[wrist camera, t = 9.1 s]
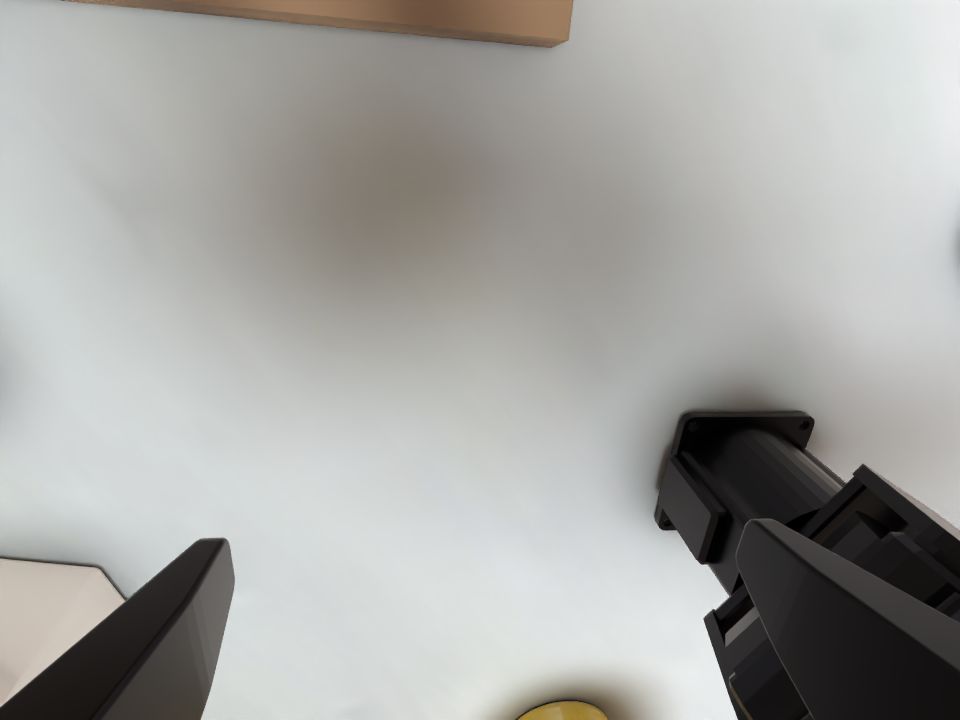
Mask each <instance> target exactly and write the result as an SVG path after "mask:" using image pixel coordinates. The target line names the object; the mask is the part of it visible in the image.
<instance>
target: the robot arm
mask: <svg viewBox="0 0 960 720" xmlns="http://www.w3.org/2000/svg"><path fill="white" fill-rule="evenodd" d="M692 422H695V423H694V424H693V425H692V426H690V427H689V425H690V424H691V423H692ZM802 422H803V423H802ZM801 423H802V424H801ZM814 423H815V422H814V419H813V418H812V417H810V416H809V415H808V414H806V413H804V412H692V413H688V414H686V415H684V416H683V417H682V418H681V420H680V422H679V426H678V430H677V434H676V438H675V441H674V445H673V449H672V453H671V456H670V458H669V459H668V462H667V466H666V469H665V473H664V477H663V481H662V485H661V489H660V493H659V497H658V502H659V504H658V508H657V512H656V516H655V521H656V523H657V525H658V526H659V528H660V529H662V530H666V531H667V530H677V531H678V532H679V534H680V536H681V537H682V539H683V540H684V542H685V543H686V545H687V546H688V548H689V549H690V551H691V552H692V554H693V555H694V557H695V559H696V560H697V561H698V562H699V563H700V564H701V565H704V564H708V565H709V567H710V568H711V570H712V571H713V573H714V574H715V576H716V577H717V579H718V580H719V582H720V583H721V585H722V586H723V588H724V589H725V591H726V592H727V594H728V595H729V596H730V597H729V598H728V599H727V600H726V601H725V602H724V603H723V604H721V605H720V606H719V607H718V608H717V609H716V610H714V609H713V610H712V611H711V612H709V613H708V614H707V615H706V616H705V617H704V622H705V625H706V628H707V631H708V634H709V637H710V640H711V643H712V646H713V649H714V652H715V655H716V658H717V661H718V664H719V667H720V670H721V673H722V676H723V679H724V682H725V685H726V688H727V691H728V694H729V697H730V700H731V703H732V705H733V707H734V710H735V713H736V716H737V718H738V720H960V530H958V529H957V528H956V527H954V526H953V525H952V524H950V523H949V522H948V521H946V520H945V519H943V518H942V517H941V516H939V515H938V514H937V513H935V512H934V511H933V510H931V509H930V508H928V507H927V506H925V505H924V504H922V503H921V502H919V501H918V500H916V499H915V498H913V497H912V496H910V495H909V494H907V493H906V492H904V491H903V490H901V489H900V488H898V487H897V486H896V485H894V484H893V483H891V482H890V481H888V480H887V479H885V478H884V477H882V476H881V475H879V474H878V473H876V472H875V471H873V470H872V469H870V468H869V467H867V466H866V465H864V464H862V465H861V466H860V467H859V468H858V469H857V470H856V471H855V472H854V473H853V475H854V477H853V478H852V479H851V480H850V481H849V482H848V483H845V482H844V481H843V480H842V479H841V478H840V477H838V476H837V475H836V474H835V473H834V472H832V471H831V470H830V469H829V468H828V467H826V466H825V465H824V464H823V463H822V462H820V461H819V460H818V459H817V458H816V457H814V456H813V455H812V454H811V453H810V452H808V451H807V450H806V449H805V448H806V446H807V443H808V440H809V438H810V435H811V432H812V430H813V427H814ZM800 424H801V425H800ZM666 519H668V520H666ZM665 520H666V521H665ZM234 583H235V576H234V569H233V563H232V557H231V551H230V545H229V542H228V540H227V539H225V538H203V539H199V540H198V541H196V542H195V543H193V544H192V545H191V546H190V547H189V548H188V549H186V550H185V551H184V552H183V553H182V554H180V555H179V556H178V557H177V558H176V559H175V560H173V561H172V562H171V563H170V564H169V565H167V566H166V567H165V568H164V569H163V570H162V571H160V572H159V573H158V574H157V575H156V576H154V577H153V578H152V579H151V580H150V581H149V582H147V583H146V584H145V585H144V586H143V587H141V588H140V589H139V590H138V591H137V592H136V593H134V594H133V595H132V596H131V597H130V598H128V599H127V600H126V601H125V602H124V603H123V604H121V605H120V606H119V607H118V608H117V609H115V610H114V611H113V612H112V613H111V614H110V615H108V616H107V617H106V618H105V619H104V620H102V621H101V622H100V623H99V624H98V625H97V626H95V627H94V628H93V629H92V630H91V631H89V632H88V633H87V634H86V635H85V636H84V637H82V638H81V639H80V640H79V641H78V642H76V643H75V644H74V645H73V646H72V647H71V648H69V649H68V650H67V651H66V652H65V653H63V654H62V655H61V656H60V657H59V658H57V659H56V660H55V661H54V662H53V663H52V664H50V665H49V666H48V667H47V668H46V669H44V670H43V671H42V672H41V673H40V674H39V675H37V676H36V677H35V678H34V679H33V680H31V681H30V682H29V683H28V684H27V685H26V686H24V687H23V688H22V689H21V690H20V691H18V692H17V693H16V694H15V695H14V696H13V697H11V698H10V699H9V700H8V701H7V702H5V703H4V704H3V705H2V706H1V707H0V720H201V717H202V714H203V711H204V708H205V705H206V702H207V699H208V696H209V693H210V689H211V686H212V682H213V678H214V674H215V669H216V665H217V661H218V656H219V652H220V648H221V643H222V639H223V635H224V630H225V626H226V622H227V617H228V613H229V609H230V604H231V600H232V596H233V591H234Z"/></svg>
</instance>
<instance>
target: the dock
mask: <svg viewBox="0 0 960 720" xmlns="http://www.w3.org/2000/svg"><path fill="white" fill-rule="evenodd" d="M63 1H73V2H83V3H94V4H104V5H114V6H125V7H135V8H146V9H156V10H166V11H177V12H187V13H198V14H208V15H218V16H229V17H239V18H249V19H260V20H270V21H281V22H291V23H301V24H312V25H322V26H333V27H343V28H353V29H364V30H374V31H384V32H395V33H405V34H416V35H426V36H436V37H447V38H457V39H468V40H478V41H488V42H499V43H509V44H519V45H530V46H540V47H551V48H552V47H554V46H556V45H559V44H561V43H563V42H565V41H568V39H569V31H570V22H571V14H572V5H573V0H63Z"/></svg>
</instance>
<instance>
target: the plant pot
mask: <svg viewBox="0 0 960 720" xmlns="http://www.w3.org/2000/svg"><path fill="white" fill-rule="evenodd" d="M518 720H608V719H607V717H606V716H605V715H604V713H603V712H602V711H601V710H599V709H598V708H596V707H595V706H593V705H590V704H587V703H583V702H576V701H562V702H555V703H550V704H546V705H543V706H540V707H537V708H535V709H533V710H531V711H529V712H528V713H526V714H524V715H523V716H522V717H520V718H519V719H518Z"/></svg>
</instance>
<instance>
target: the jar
mask: <svg viewBox="0 0 960 720" xmlns="http://www.w3.org/2000/svg"><path fill="white" fill-rule="evenodd" d="M124 602H125V600H124V599H123V598H122V596H121V595H120V594H119V593H118V591H117V590H116V589H115V588H114V586H113V585H112V584H111V583H110V581H109V580H108V579H107V578H106V576H105V575H104V574H103V573H102V571H101V570H100V569H99V568H95V567H84V566H73V565H63V564H52V563H41V562H31V561H20V560H10V559H0V707H1V706H2V705H3V704H4V703H5V702H7V701H8V700H9V699H10V698H11V697H13V696H14V695H15V694H16V693H17V692H18V691H20V690H21V689H22V688H23V687H24V686H26V685H27V684H28V683H29V682H30V681H31V680H33V679H34V678H35V677H36V676H37V675H39V674H40V673H41V672H42V671H43V670H44V669H46V668H47V667H48V666H49V665H50V664H52V663H53V662H54V661H55V660H56V659H57V658H59V657H60V656H61V655H62V654H63V653H65V652H66V651H67V650H68V649H69V648H71V647H72V646H73V645H74V644H75V643H76V642H78V641H79V640H80V639H81V638H82V637H84V636H85V635H86V634H87V633H88V632H89V631H91V630H92V629H93V628H94V627H95V626H97V625H98V624H99V623H100V622H101V621H102V620H104V619H105V618H106V617H107V616H108V615H110V614H111V613H112V612H113V611H114V610H115V609H117V608H118V607H119V606H120V605H121V604H123V603H124Z"/></svg>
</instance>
